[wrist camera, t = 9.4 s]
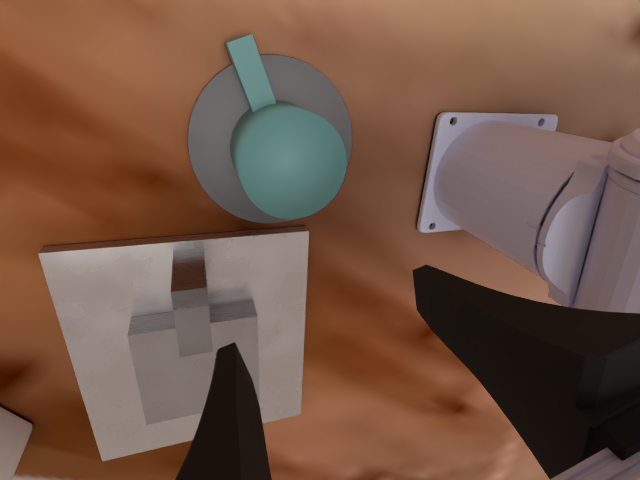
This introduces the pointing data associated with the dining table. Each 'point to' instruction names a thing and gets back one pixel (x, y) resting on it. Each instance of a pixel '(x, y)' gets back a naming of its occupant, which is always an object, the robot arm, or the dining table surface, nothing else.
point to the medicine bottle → (12, 442)
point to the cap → (282, 145)
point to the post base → (148, 289)
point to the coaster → (230, 104)
